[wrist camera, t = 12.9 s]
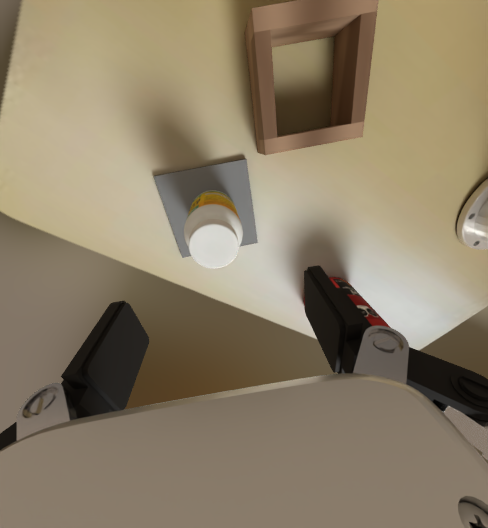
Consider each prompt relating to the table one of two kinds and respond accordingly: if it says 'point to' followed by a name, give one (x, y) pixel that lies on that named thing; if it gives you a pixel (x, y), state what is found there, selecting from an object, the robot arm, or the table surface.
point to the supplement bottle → (213, 230)
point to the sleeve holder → (344, 66)
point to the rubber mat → (201, 180)
